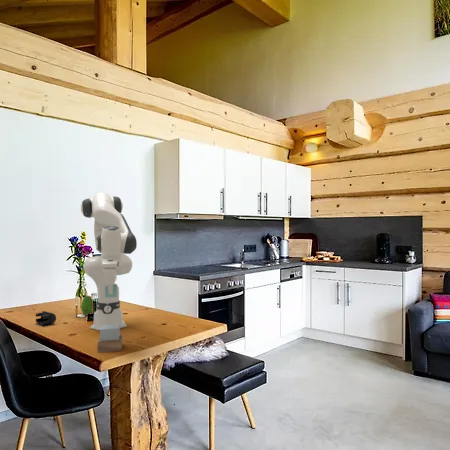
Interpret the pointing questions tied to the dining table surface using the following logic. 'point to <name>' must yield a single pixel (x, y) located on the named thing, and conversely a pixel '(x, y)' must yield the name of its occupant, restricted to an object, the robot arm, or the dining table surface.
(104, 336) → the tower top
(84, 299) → the avocado
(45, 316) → the end cap
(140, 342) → the dining table surface
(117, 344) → the tower base
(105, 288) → the teal block
